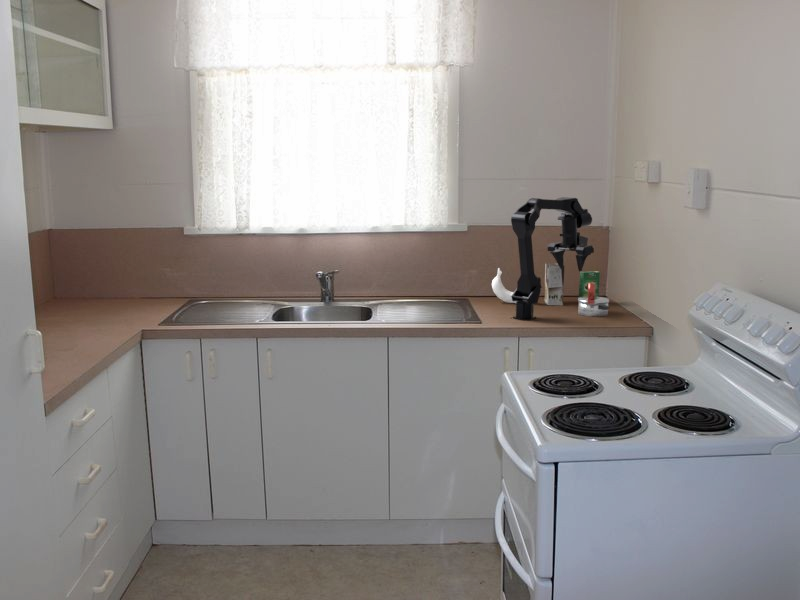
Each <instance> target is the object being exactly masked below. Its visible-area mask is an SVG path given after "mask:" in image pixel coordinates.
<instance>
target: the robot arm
mask: <svg viewBox="0 0 800 600" xmlns="http://www.w3.org/2000/svg"><path fill="white" fill-rule="evenodd" d="M532 210H533V211H532ZM542 210H555V211H557V212H561V213H560V215H559V216H558V217H557V220H558V221H561V233H559V236H560V237H561V241H562V242H561V241H554V242H550V243H548V245H547V248H546V249H547V252H549V253H550V254H551V255H552V257H553V258H554V259H555V261H556V263H558V265H559V267H560V269H563V265H564V255H565V252H566V251H571V252H576V255H575V259H576V266H577V268H578V272H583V267H584V266H585V265H584V264H585V261H586V260H587V257H588V256H590V255H591V254H593V253H594V252H595V249H594V248H595V247H594V246H593V245H591V244H588V242H589V237H585V236H584V235H581V233H580V231H578V229H581V228H585V227H589V226H590V225H591V224H592V222H593V217H592V215H591V214H590V212H589V210H588V209H587V208H583V207H582V206H581V204H580V201H579V199H578V198H577V197H568V196H567V197H565V196H563V197H557V198H556V199H551V198H550V199H548V198H547V199H545V198H537V197H530V198H529V199H528V200H527V201H526V203H525V204H523V205H522V206H520V207H519V208H518V209H516V211H515V212H514V213H513V215H512V216H511V218H510V222H511V227H512V230H513V232H514V233H515V235H516V237H517V243H518V244H517V246H518V257H519V267H520V268H519V269H520V275H519V278H518V280H517V284H516V285H517V286H516V288H515V290H514V291H513V292H514V293H513V294H512V296H511V297H512V301H517V302H516V303H515V305H516V306H515V315H513V316H512V318H513V319H515V320H523V321H529V320H534V319H537V316H534V311H535V310H534V304H538V303H539V302H538V301H539V298H540V294H541V292H542V291H541V289H542V282H541V281H542V279H541V277H540V276H537V275H536V274H535V267H534V265H535V264H534V251H533V242H532V241H533V239H532V235H533V233H534V232H535V229H536V222H537V221H538V219H539V218H540V214H541V211H542ZM531 211H532V212H531ZM525 297H528V298H525ZM533 318H534V319H533Z"/></svg>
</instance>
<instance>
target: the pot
mask: <svg viewBox="0 0 800 600" xmlns="http://www.w3.org/2000/svg"><path fill="white" fill-rule="evenodd" d="M609 310H610V306H609V303H606V304H586V303H581V302H578V310H577V313H578V315H580V316H585V317H592V316H595V317H598V318H599V316H600V317H605V316H606V317H607V316H608V315H609V314H608V313H609Z"/></svg>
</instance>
